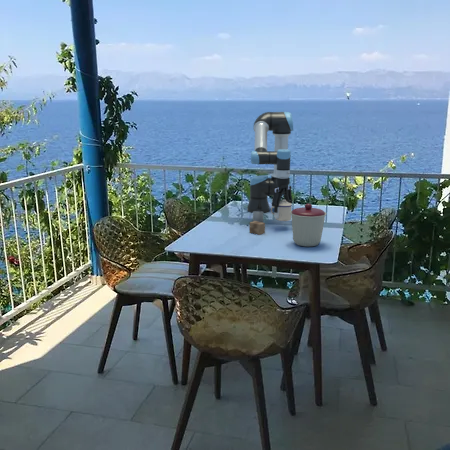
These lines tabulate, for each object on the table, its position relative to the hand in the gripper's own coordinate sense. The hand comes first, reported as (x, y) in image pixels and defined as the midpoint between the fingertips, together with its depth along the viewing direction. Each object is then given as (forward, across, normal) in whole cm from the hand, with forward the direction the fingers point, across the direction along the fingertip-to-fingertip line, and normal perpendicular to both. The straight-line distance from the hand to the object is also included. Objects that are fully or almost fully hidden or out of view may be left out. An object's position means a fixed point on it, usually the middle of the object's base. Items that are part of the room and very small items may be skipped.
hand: (281, 216), depth 269 cm
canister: (+7, -16, -28) cm, 33 cm away
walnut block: (+7, -17, +4) cm, 19 cm away
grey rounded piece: (+7, -3, +15) cm, 17 cm away
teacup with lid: (+2, -1, 0) cm, 2 cm away
